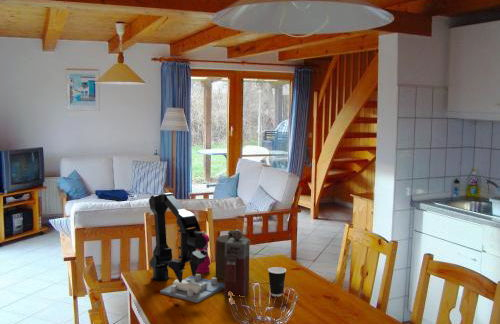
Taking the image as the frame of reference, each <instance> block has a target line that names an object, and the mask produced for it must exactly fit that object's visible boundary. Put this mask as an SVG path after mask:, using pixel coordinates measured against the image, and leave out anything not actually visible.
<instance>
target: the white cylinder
mask: <svg viewBox="0 0 500 324" xmlns="http://www.w3.org/2000/svg"><path fill="white" fill-rule="evenodd" d="M172 285H176V286H177V289H178V290H182V291H186V292H187V290H188V289H192V290H193V293H194V294H199V292H200V290H201V286H200V285H199V284H194V283H190V282H186V281H182V282H181V283H180V282H179V281H178V279H177V278H176V279H175V280H174V281H173V282H172Z"/></svg>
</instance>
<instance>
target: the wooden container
mask: <svg viewBox="0 0 500 324" xmlns="http://www.w3.org/2000/svg"><path fill="white" fill-rule="evenodd" d="M234 231H235V230H232V229H231V230H229V231H228V233H227V234H226V235H220V236H217V237H216V241H215V242H216V245H215V249H216V250H215V278H217V279H220V280H223V281H225V243H226V242H227V241H228V240H229V239H230V238H233V237H232V233H233V232H234ZM242 239H248V238H247V237H245V236H242Z"/></svg>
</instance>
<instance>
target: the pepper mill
mask: <svg viewBox="0 0 500 324" xmlns="http://www.w3.org/2000/svg"><path fill="white" fill-rule="evenodd" d="M201 233H202V236H204V237H205V238H206V245H205V247H204V248H203V249H198V251H200V252H201V251H202V250H206V251H207V258H206V259H205V260H204V263H201V264H199V266H198V268H197V271H196V273H199V272H200V273H199V274H207V273H209V272H210V268H211V267H210V265H211V258H210V256H209V253H208V248H209V243H210V236H209V235H208V234H206V231H204V230H203V231H202V230H201ZM206 272H207V273H206Z"/></svg>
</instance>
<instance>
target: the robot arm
mask: <svg viewBox="0 0 500 324" xmlns="http://www.w3.org/2000/svg"><path fill="white" fill-rule="evenodd" d="M148 204H149V209H150V210H151V212H152V213H153V215H154V231H155V233H154V234H155V244H156V245H155V247H154V249H153V252H152V257H151V258H150V261H149V263H148V264H149V266H150V267H151V268H152V274H153V275H152V276H153V277H151V278H150V279H151V280H154V281H156V282H163V281H166V280H168V279H171V276H169V269H171V270H172V271H173V272H174V274H175V277H176V279H177V280H178V281H179V282H180V283H181V282H182V280H183V275H184V274H183V272H184V270H186V263H189V266H190V272H191V276H193V277H195V275H196V274H197V268H198V266H199V264H201V263H204V260H205V259H206V258H207V252H208V250H207V251H206V250H202V251H201V252H200V251H199V249H203V248H204V247H205V245H206V238H205V237H204V236H202V230H201V226H200V224H199V222H198V218H197V217H196V215H195V214H194V213H193V212H191V211H189V210H186V209H185V208H184V207H183V205H181V203H180V202H179V201H178V199H177V198H176V197H175V194H174V193H173V192H165V193H162V194H153V195H150V197H149V199H148ZM168 209H169V210H170V212H171V213H172V214H173V215H174V216H175V219H176V222H175V223H176V224H177V226H178V227H179V229H178V232H179V233H180V245H179V246H178V249H179V250H180V255H178V258H173V254H172V253H173V250H172V248H171V247H170V246H169V245H168V241H167V240H168V239H167V225H166V223H167V222H166V212H167V210H168ZM168 268H169V269H168Z"/></svg>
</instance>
